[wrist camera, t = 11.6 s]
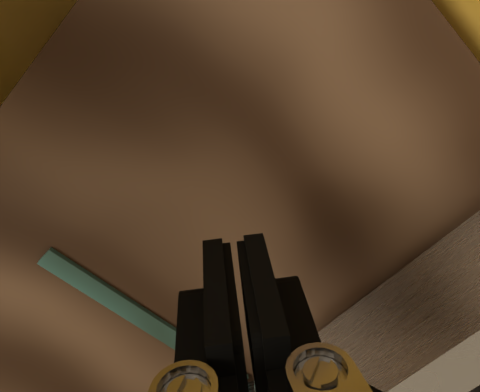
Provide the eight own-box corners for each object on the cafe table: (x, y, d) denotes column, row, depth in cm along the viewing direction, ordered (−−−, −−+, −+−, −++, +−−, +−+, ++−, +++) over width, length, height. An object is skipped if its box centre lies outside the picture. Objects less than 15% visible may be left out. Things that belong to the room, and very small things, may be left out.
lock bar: (489, 197, 16) (600, 285, 11) (522, 237, 16) (639, 334, 12) (220, 401, 19) (221, 528, 15) (258, 425, 20) (270, 552, 16)
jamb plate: (143, 538, 27) (126, 675, 22) (-200, 391, 20) (-348, 537, 15) (587, 221, 19) (740, 319, 13) (245, -211, 12) (270, -369, 6)
